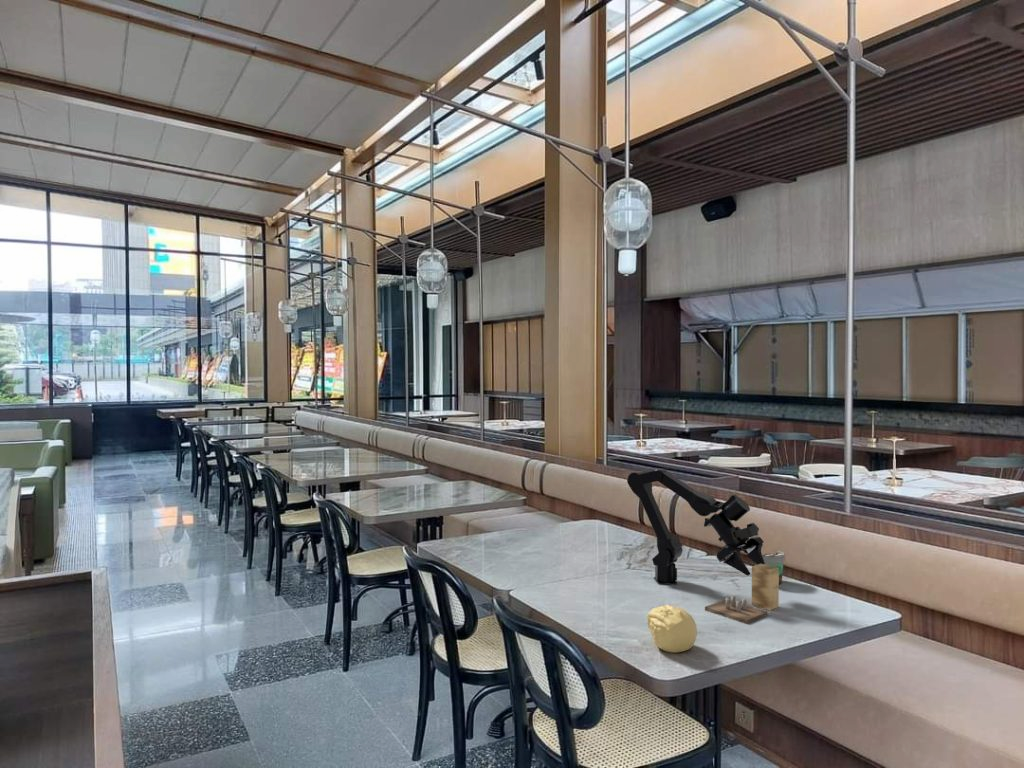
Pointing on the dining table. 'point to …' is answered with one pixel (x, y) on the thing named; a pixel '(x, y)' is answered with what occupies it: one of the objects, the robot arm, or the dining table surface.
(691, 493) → the robot arm
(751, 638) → the dining table surface
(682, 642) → the sculpture
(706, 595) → the dining table surface
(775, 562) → the food container
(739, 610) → the peg base
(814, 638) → the dining table surface
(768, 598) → the oak block
